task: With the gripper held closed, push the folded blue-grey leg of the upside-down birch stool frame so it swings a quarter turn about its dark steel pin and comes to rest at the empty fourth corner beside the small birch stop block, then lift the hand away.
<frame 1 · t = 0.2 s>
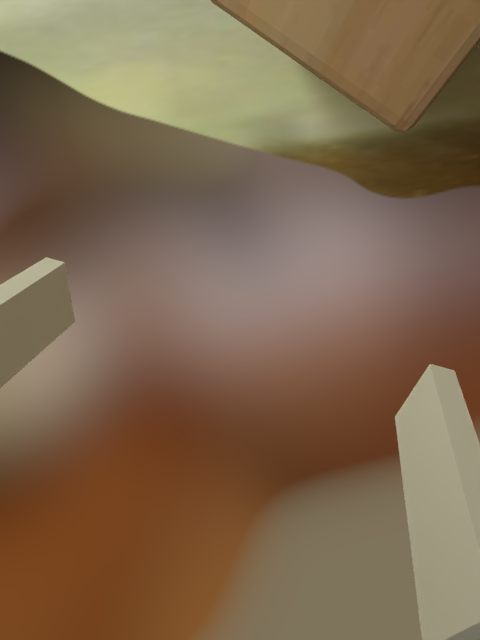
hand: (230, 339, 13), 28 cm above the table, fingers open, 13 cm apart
wooden block: (370, 1, 27), on the table
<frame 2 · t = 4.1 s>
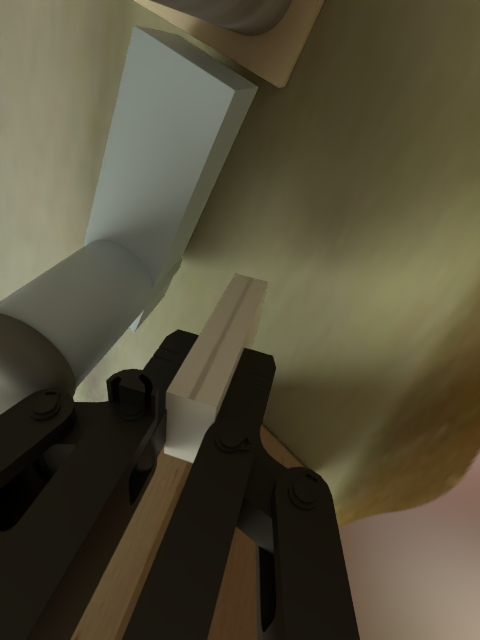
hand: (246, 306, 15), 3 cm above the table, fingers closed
wooden block: (222, 446, 27), on the table
hinged leg: (112, 232, 11), point 6 cm above the table, hinge at 1.9°, touching gripper
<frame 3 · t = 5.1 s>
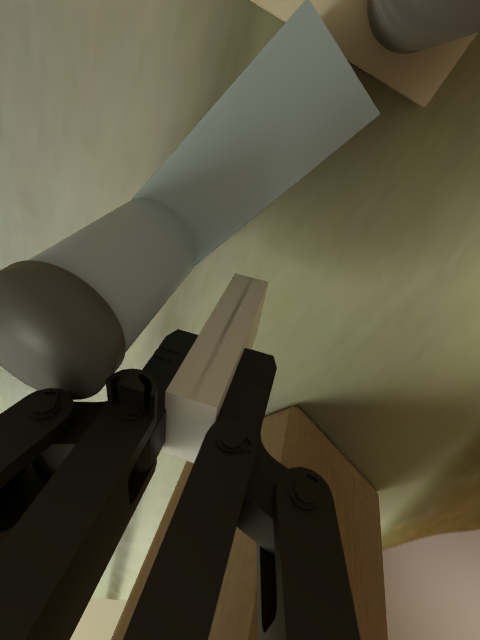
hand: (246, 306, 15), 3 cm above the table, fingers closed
wooden block: (282, 463, 26), on the table
hinged leg: (191, 205, 10), point 6 cm above the table, hinge at 22.0°, touching gripper
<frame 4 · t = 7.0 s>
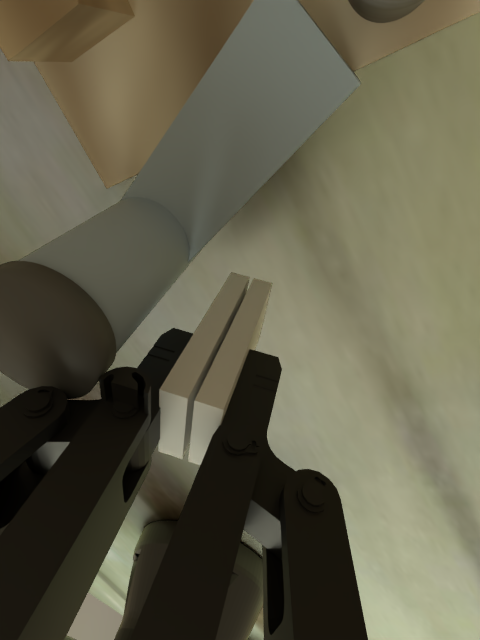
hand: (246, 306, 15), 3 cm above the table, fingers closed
hinged leg: (176, 197, 10), point 6 cm above the table, hinge at 66.1°, touching gripper
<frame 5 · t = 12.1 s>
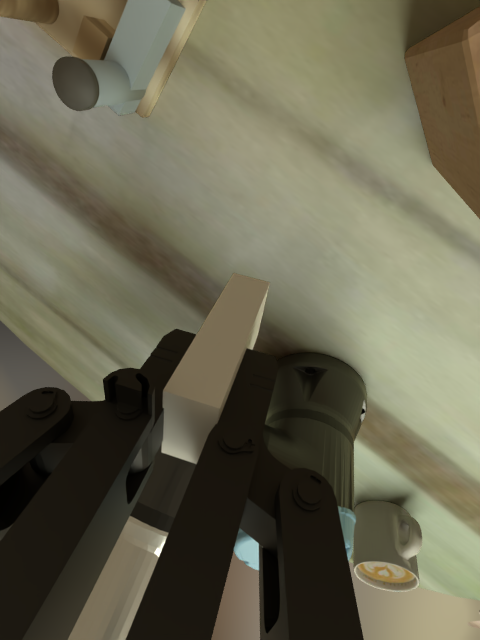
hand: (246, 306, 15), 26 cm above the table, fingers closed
coffee mug: (389, 512, 64), on the table
hinged leg: (119, 50, 28), point 6 cm above the table, hinge at 91.3°
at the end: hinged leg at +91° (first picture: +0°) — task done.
